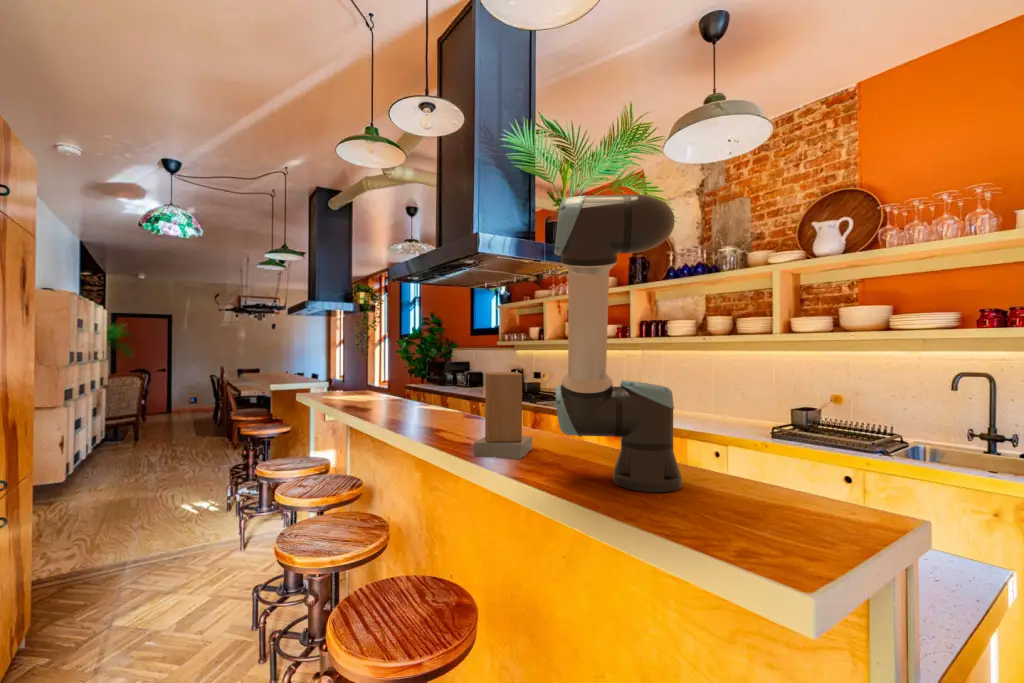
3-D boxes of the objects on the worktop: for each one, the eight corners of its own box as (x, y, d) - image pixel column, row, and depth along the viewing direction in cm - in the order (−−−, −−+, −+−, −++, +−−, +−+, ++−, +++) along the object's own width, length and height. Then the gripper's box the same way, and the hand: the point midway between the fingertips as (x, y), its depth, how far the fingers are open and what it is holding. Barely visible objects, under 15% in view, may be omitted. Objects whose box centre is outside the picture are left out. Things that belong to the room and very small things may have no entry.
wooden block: (484, 436, 144) (485, 372, 145) (516, 436, 146) (517, 372, 146) (487, 442, 134) (488, 373, 135) (521, 442, 136) (522, 373, 136)
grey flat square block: (520, 459, 131) (520, 445, 131) (473, 456, 135) (474, 442, 135) (532, 449, 145) (532, 436, 145) (489, 447, 148) (489, 434, 149)
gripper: (578, 269, 156) (577, 333, 155) (566, 254, 132) (565, 329, 131) (600, 268, 154) (600, 332, 153) (592, 252, 130) (592, 328, 129)
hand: (584, 331), depth 142 cm, fingers open, 13 cm apart
